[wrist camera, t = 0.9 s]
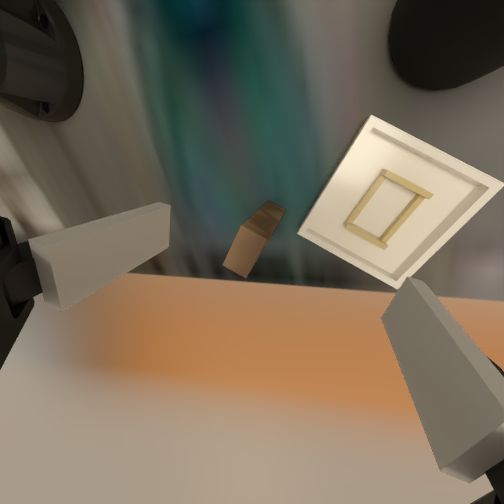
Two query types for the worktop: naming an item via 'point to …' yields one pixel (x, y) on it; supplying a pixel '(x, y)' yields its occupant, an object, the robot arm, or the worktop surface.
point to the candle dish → (394, 202)
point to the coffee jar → (447, 40)
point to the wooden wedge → (253, 238)
